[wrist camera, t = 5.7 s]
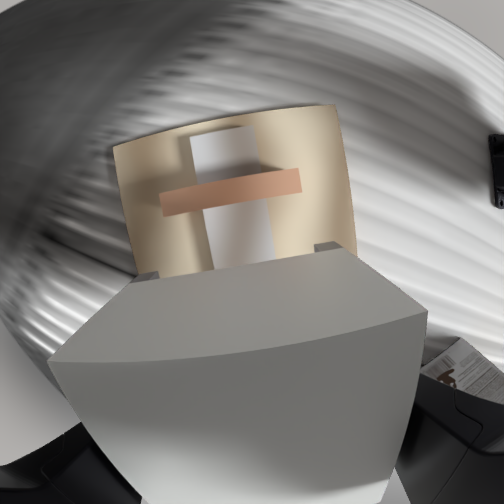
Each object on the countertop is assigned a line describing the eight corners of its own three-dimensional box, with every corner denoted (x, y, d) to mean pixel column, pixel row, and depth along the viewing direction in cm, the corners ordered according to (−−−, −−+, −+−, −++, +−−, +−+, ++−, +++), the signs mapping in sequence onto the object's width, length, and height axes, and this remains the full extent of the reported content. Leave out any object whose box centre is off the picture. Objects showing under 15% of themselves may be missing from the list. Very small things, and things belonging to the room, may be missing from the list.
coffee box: (466, 388, 22) (539, 475, 7) (422, 420, 23) (482, 523, 7) (462, 334, 20) (568, 433, 5) (409, 373, 21) (499, 503, 5)
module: (334, 241, 9) (427, 310, 4) (341, 399, 11) (379, 501, 5) (139, 273, 9) (46, 360, 4) (192, 420, 11) (171, 523, 6)
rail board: (330, 108, 16) (352, 89, 12) (355, 375, 21) (372, 407, 17) (119, 148, 17) (87, 141, 12) (187, 400, 21) (178, 436, 17)
